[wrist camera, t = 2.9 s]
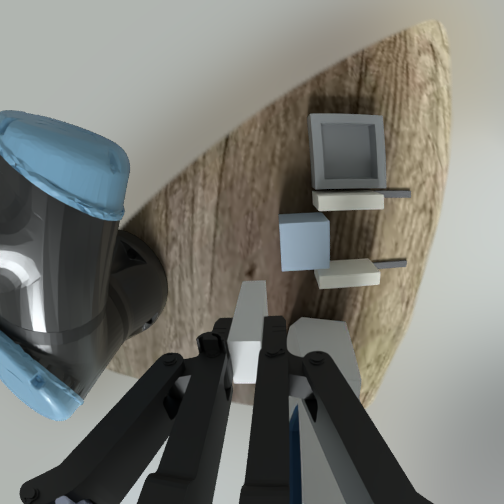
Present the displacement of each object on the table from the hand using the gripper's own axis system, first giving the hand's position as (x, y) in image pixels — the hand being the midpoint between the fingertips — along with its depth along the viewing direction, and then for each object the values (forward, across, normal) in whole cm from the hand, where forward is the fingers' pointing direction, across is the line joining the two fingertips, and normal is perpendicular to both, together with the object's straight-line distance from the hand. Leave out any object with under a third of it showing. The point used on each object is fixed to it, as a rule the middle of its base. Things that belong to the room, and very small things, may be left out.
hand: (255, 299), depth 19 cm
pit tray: (+15, +10, +10) cm, 21 cm away
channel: (+15, +9, 0) cm, 18 cm away
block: (+16, +4, 0) cm, 16 cm away
